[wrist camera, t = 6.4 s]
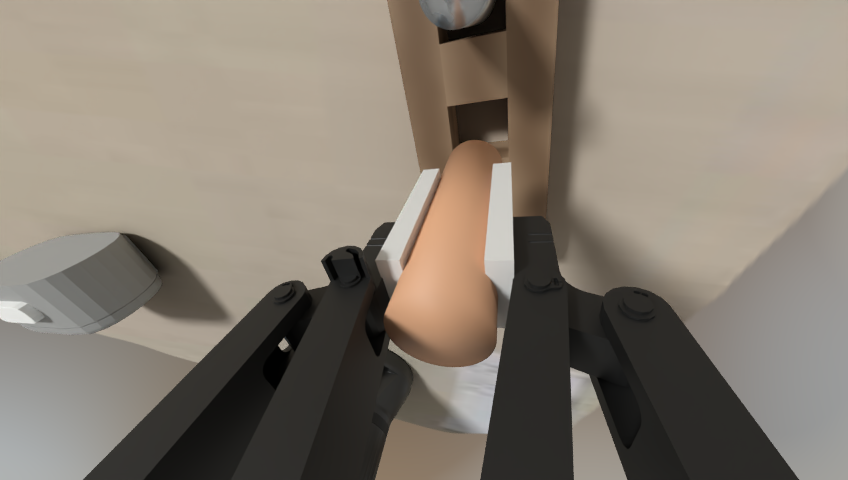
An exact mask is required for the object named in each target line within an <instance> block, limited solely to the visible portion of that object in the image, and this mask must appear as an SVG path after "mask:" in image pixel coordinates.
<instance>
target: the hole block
mask: <svg viewBox="0 0 848 480" xmlns="http://www.w3.org/2000/svg"><path fill="white" fill-rule="evenodd" d="M387 2H388V7H389V12H390V18H391V23H392V28H393V33H394V38H395V43H396V48H397V54H398V59H399V64H400V69H401V74H402V79H403V84H404V90H405V95H406V100H407V105H408V110H409V115H410V121H411V126H412V131H413V136H414V141H415V146H416V151H417V157H418V162H419V167H420V172H421V173H422V172H423V170H428V169H439V170H440V176H442V173H443V171H444V168H445V166H446V163H447V161H448V159H449V156H450V154H451V153H452V151H453V150H454V149H455V148H456V147H457V146H458V145H460V142H459V133H458V124H457V115H456V106H455V105H461V104H468V103H475V102H482V101H489V100H495V99H502V98H507V105H508V140H507V141H498V142H489V144H491V145H492V146H494V147H495V148H496V149H497V151H498V152H499V154H500V156H501V158H502V163H508V162H511V176H512V210H513V217H522V216H543V217H544V218H545V219H546V212H547V195H548V178H549V161H550V144H551V127H552V110H553V92H554V75H555V58H556V41H557V24H558V7H559V0H505V7H506V29H503V30H498V31H494V32H489V33H484V34H479V35H474V36H469V37H465V38H460V39H455V40H450V41H448V34H447V30H446V29H442V28H439V27H438V26H436V25H434V24H433V23H432V22H431V21H430V20H429V19H428V18H427V17H426V15H425V14H424V12H423V10H422V8H421V6H420V3H419V0H387Z"/></svg>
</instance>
